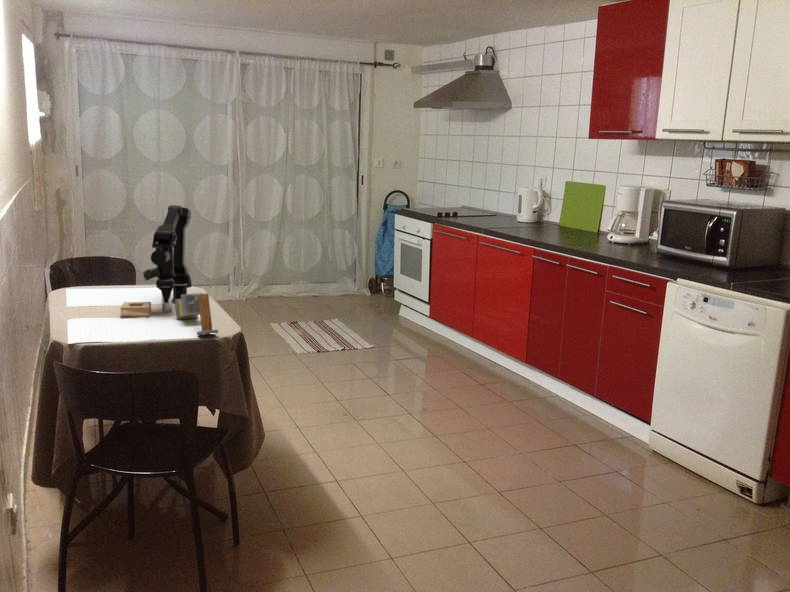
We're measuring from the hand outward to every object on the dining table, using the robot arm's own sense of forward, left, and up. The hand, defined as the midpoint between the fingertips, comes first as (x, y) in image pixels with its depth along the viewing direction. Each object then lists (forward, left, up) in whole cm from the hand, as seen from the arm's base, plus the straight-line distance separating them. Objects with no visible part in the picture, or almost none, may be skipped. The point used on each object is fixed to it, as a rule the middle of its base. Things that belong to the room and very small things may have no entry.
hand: (166, 300), depth 274 cm
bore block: (+4, -11, -5) cm, 13 cm away
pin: (0, 0, -5) cm, 5 cm away
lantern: (+25, +12, -5) cm, 28 cm away
